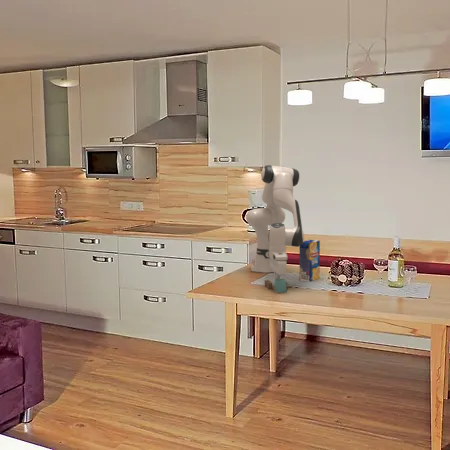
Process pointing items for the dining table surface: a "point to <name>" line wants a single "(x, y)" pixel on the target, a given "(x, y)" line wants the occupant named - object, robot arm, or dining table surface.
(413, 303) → the dining table surface
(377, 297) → the dining table surface
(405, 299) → the dining table surface
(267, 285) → the chute
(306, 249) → the beverage box
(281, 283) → the block
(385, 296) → the dining table surface
